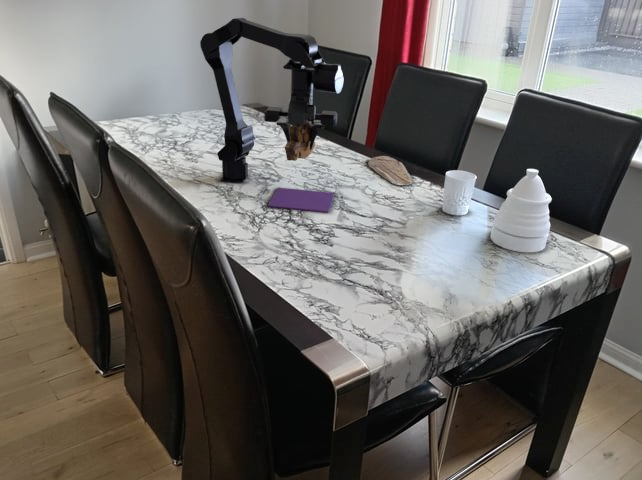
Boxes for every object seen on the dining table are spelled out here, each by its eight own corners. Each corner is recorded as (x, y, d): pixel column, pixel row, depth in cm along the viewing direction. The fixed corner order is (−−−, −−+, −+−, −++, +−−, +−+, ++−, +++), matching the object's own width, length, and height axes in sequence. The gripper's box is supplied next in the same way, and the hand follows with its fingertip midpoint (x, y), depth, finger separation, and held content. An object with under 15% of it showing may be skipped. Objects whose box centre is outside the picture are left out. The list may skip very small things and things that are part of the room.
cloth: (267, 206, 150) (267, 205, 150) (278, 189, 162) (278, 187, 162) (328, 212, 149) (328, 211, 149) (334, 194, 161) (334, 192, 161)
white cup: (471, 208, 157) (477, 172, 152) (467, 218, 150) (474, 181, 145) (442, 203, 159) (447, 168, 154) (437, 213, 152) (443, 177, 147)
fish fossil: (424, 184, 172) (424, 180, 172) (393, 188, 170) (393, 185, 169) (389, 157, 193) (389, 153, 192) (360, 160, 190) (361, 157, 190)
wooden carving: (299, 168, 150) (301, 129, 144) (282, 164, 150) (284, 126, 145) (318, 151, 163) (321, 116, 158) (303, 148, 164) (305, 113, 159)
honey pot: (538, 257, 131) (557, 181, 123) (483, 242, 137) (498, 169, 128) (550, 238, 141) (570, 167, 132) (499, 225, 147) (514, 156, 138)
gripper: (259, 92, 142) (260, 154, 149) (335, 97, 140) (331, 160, 148) (268, 84, 151) (268, 143, 159) (339, 89, 150) (335, 148, 157)
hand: (300, 148), depth 156 cm, fingers closed on wooden carving, 5 cm apart
